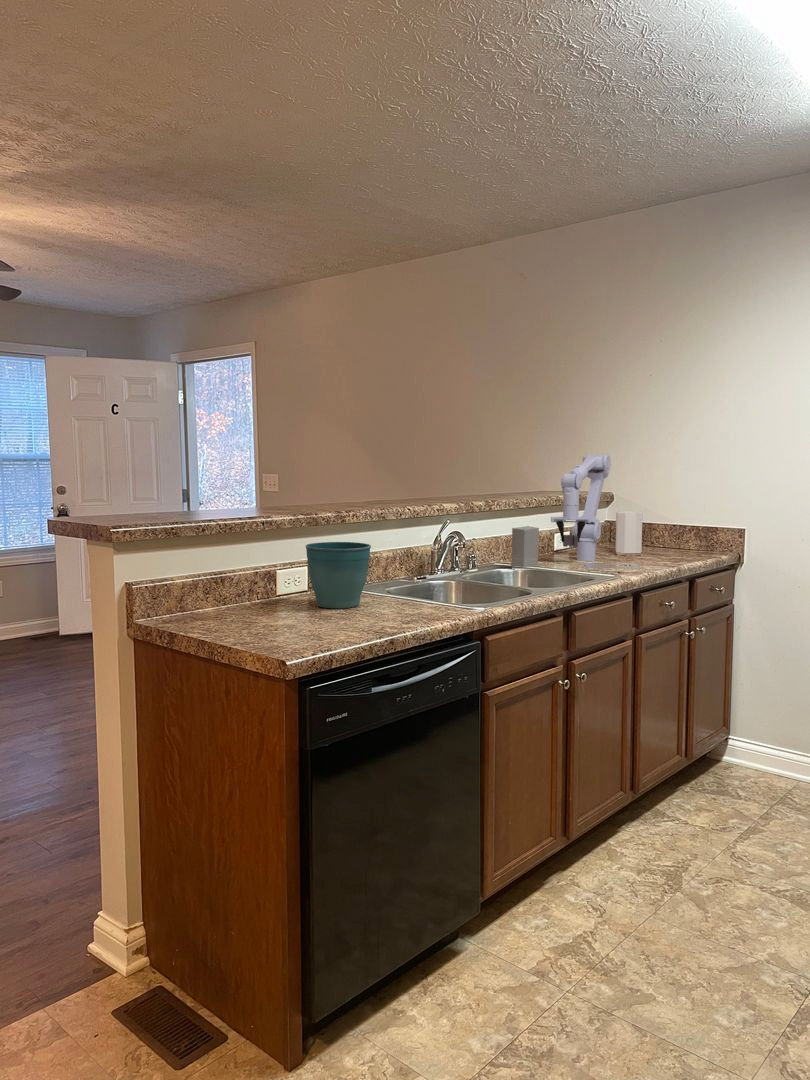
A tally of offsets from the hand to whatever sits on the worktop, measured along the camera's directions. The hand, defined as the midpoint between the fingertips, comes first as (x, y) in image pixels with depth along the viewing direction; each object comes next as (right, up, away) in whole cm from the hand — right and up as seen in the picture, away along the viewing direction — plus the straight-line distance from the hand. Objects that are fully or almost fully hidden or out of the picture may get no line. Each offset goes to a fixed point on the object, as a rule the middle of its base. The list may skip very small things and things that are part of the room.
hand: (570, 541), depth 302 cm
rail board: (+14, -10, -5) cm, 18 cm away
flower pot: (-81, -18, -78) cm, 114 cm away
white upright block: (+34, -6, +42) cm, 54 cm away
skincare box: (-18, -11, -4) cm, 21 cm away
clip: (0, -2, 0) cm, 2 cm away
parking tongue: (-1, -10, +2) cm, 10 cm away
